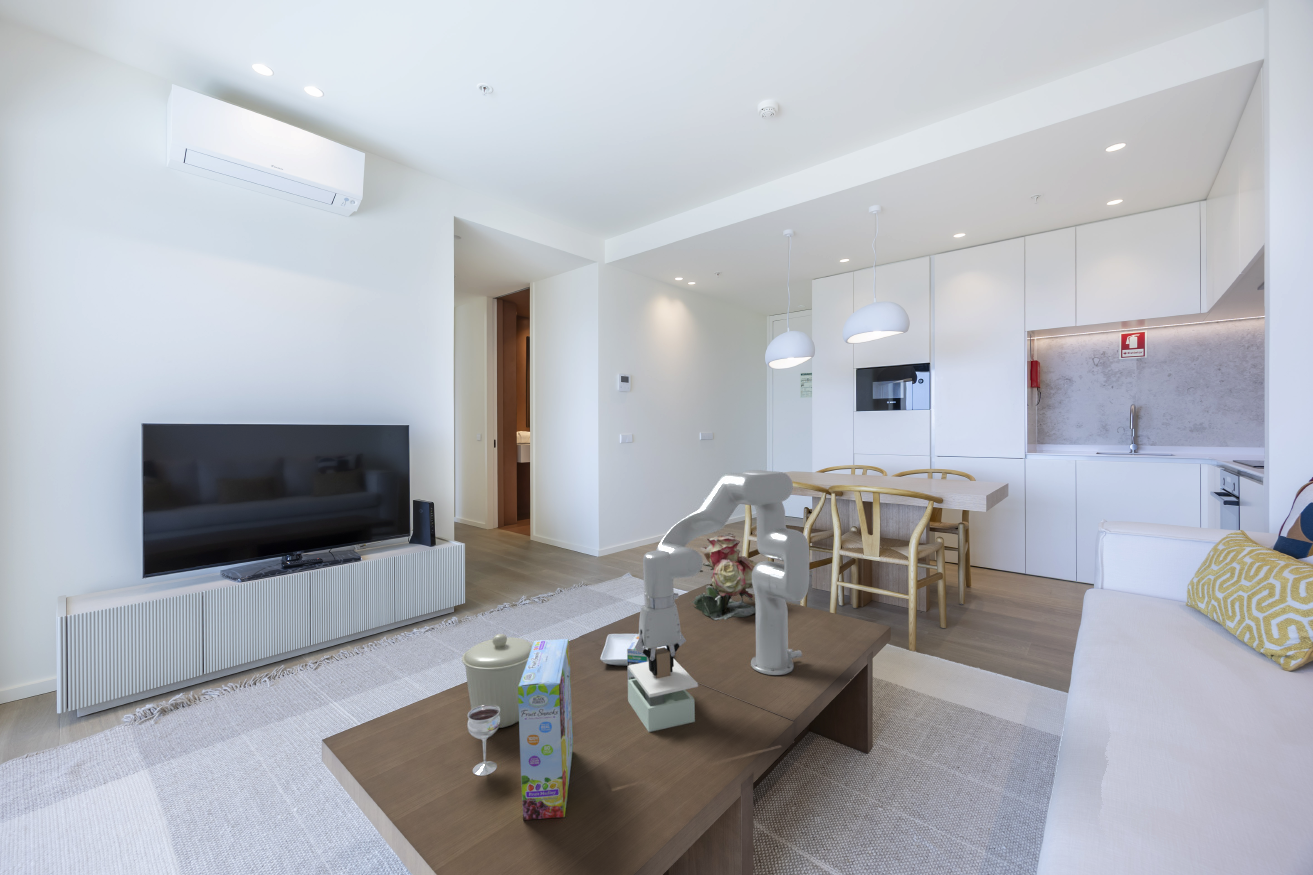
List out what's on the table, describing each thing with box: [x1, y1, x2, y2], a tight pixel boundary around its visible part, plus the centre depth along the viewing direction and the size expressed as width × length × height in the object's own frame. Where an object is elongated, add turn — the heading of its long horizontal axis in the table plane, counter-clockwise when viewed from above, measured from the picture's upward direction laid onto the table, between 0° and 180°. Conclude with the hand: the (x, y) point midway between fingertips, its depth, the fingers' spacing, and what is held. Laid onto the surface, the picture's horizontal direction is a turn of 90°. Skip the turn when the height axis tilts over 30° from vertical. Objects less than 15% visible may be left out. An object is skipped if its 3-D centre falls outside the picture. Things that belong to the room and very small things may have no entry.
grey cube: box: [645, 692, 664, 706], centre depth 141 cm, size 4×4×4 cm
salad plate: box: [599, 633, 667, 666], centre depth 173 cm, size 21×21×3 cm
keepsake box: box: [627, 678, 696, 733], centre depth 137 cm, size 16×12×6 cm
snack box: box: [518, 638, 574, 821], centre depth 110 cm, size 22×9×26 cm, turn 5°
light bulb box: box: [626, 636, 657, 681], centre depth 156 cm, size 11×7×11 cm, turn 168°
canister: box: [461, 633, 533, 729], centre depth 136 cm, size 18×18×21 cm
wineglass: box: [466, 705, 501, 777], centre depth 115 cm, size 7×7×12 cm
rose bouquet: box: [691, 532, 758, 621], centre depth 217 cm, size 26×29×30 cm
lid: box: [627, 647, 699, 697], centre depth 137 cm, size 17×13×7 cm
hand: (661, 670), depth 137 cm, fingers closed on lid, 3 cm apart
